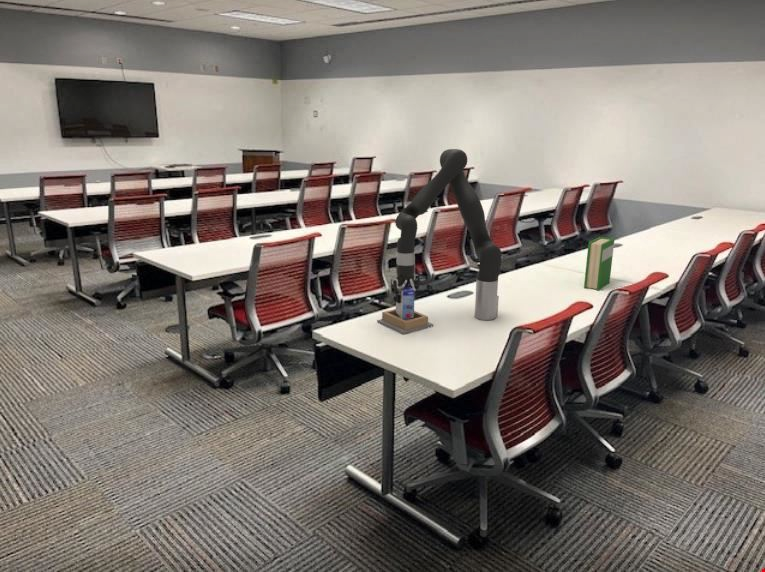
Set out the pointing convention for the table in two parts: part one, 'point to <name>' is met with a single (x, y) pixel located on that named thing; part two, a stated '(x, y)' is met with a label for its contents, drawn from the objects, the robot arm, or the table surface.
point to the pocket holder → (404, 322)
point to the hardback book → (599, 263)
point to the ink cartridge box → (406, 303)
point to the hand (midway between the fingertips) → (405, 301)
